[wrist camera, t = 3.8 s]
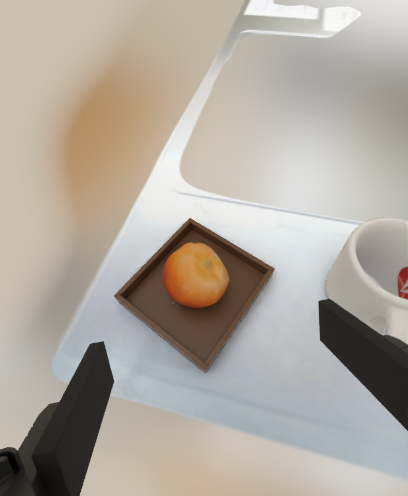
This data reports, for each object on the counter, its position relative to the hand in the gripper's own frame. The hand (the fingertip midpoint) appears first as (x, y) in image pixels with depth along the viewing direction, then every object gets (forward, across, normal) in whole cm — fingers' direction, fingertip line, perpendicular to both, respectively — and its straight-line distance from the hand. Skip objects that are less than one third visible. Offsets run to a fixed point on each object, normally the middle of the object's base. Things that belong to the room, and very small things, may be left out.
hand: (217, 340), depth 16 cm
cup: (+15, +19, -9) cm, 26 cm away
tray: (+20, 0, -4) cm, 20 cm away
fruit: (+19, 0, -4) cm, 20 cm away
